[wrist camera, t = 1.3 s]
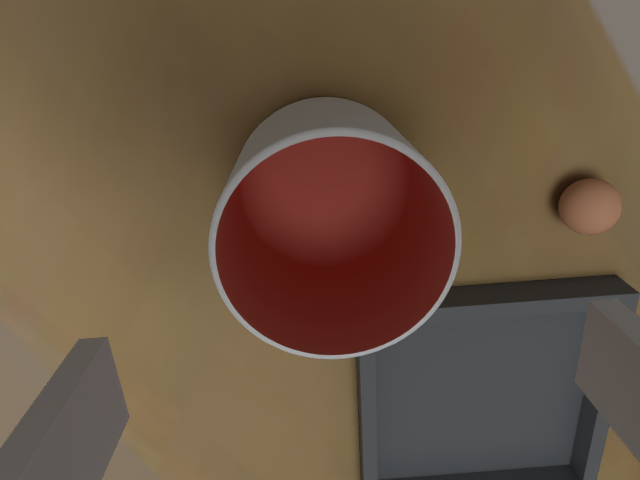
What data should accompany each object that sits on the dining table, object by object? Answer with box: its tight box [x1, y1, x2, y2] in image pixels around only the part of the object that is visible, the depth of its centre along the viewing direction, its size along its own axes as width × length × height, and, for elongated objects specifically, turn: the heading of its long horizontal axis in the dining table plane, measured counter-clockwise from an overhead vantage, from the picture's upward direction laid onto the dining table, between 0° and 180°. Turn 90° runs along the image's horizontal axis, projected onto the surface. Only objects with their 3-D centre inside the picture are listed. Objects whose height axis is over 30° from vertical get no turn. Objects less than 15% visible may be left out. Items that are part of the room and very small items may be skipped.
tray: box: [356, 275, 640, 480], centre depth 34 cm, size 17×17×2 cm
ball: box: [558, 178, 622, 235], centre depth 28 cm, size 3×3×3 cm
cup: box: [208, 97, 462, 359], centre depth 24 cm, size 10×10×10 cm
